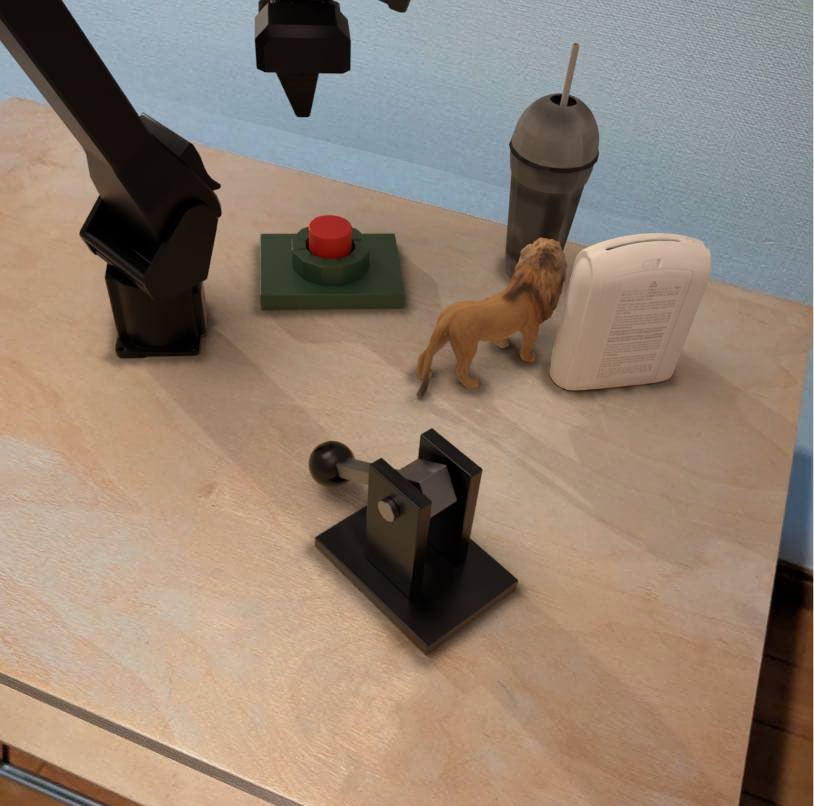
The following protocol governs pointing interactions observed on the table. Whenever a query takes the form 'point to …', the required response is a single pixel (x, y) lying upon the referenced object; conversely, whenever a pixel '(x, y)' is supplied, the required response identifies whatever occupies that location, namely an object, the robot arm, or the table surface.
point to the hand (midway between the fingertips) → (302, 115)
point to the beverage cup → (549, 168)
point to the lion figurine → (500, 313)
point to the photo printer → (629, 310)
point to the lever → (339, 466)
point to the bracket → (419, 550)
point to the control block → (330, 274)
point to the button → (330, 237)
